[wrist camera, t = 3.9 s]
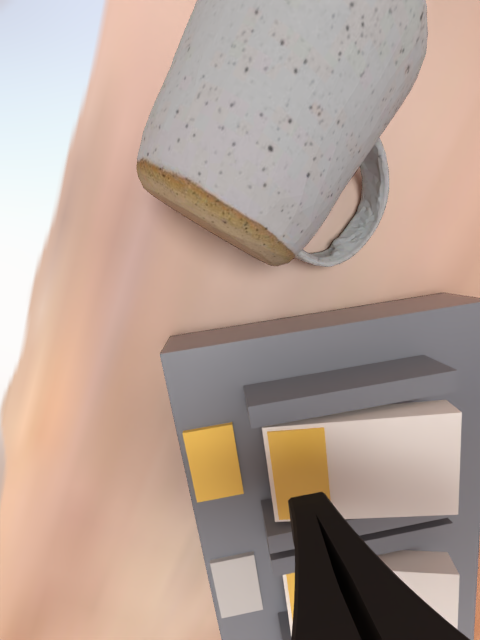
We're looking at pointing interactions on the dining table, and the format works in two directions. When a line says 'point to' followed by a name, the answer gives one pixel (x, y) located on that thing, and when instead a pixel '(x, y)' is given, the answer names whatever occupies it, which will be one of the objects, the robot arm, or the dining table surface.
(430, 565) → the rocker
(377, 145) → the ceramic mug
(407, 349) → the switch panel
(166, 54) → the dining table surface
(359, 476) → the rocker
